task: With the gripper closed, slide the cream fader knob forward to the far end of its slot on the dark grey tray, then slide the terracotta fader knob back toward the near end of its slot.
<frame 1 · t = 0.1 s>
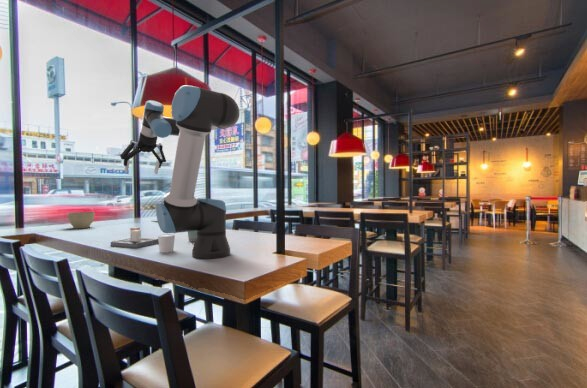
hand: (141, 172, 150), 36 cm above the table, tool tilted 35°, fingers open, 13 cm apart
dark grey tray: (135, 244, 147), on the table
fader b: (135, 232, 152), point 5 cm above the table, slide at 4.0 cm
coffee cup: (194, 241, 158), on the table
white tapered cup: (166, 251, 131), on the table
planter bowl: (81, 228, 214), on the table
fader a: (136, 235, 143), point 5 cm above the table, slide at -4.0 cm
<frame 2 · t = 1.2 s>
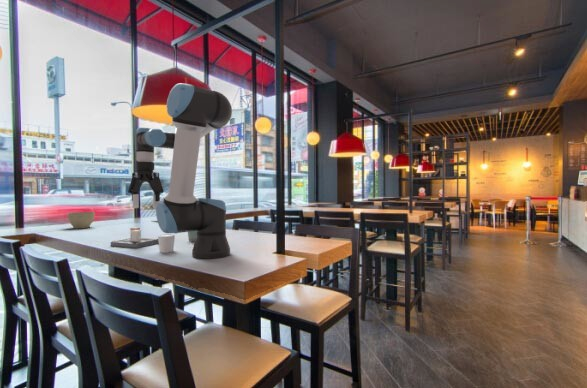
hand: (145, 208, 141), 18 cm above the table, tool pointing down, fingers open, 11 cm apart
nothing on the table moved.
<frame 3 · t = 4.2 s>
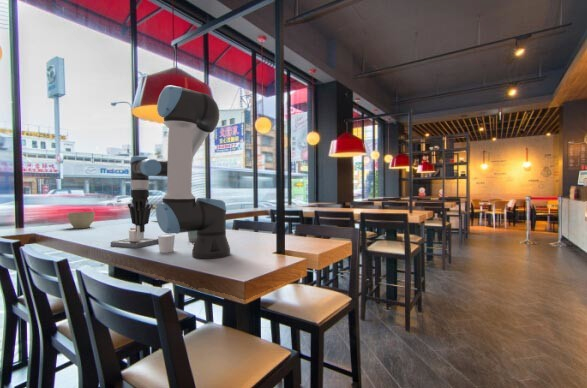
hand: (140, 239, 142), 4 cm above the table, tool pointing down, fingers closed
fader a: (134, 235, 143), point 5 cm above the table, slide at -2.8 cm, touching gripper
everything else where it was.
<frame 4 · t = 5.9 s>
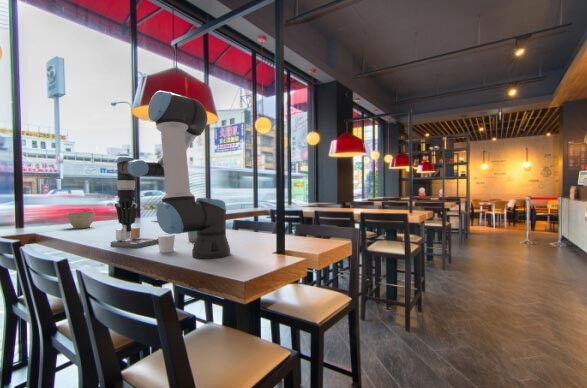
hand: (126, 238, 145), 4 cm above the table, tool pointing down, fingers closed
fader a: (120, 234, 146), point 5 cm above the table, slide at 5.5 cm, touching gripper
everything else where it was.
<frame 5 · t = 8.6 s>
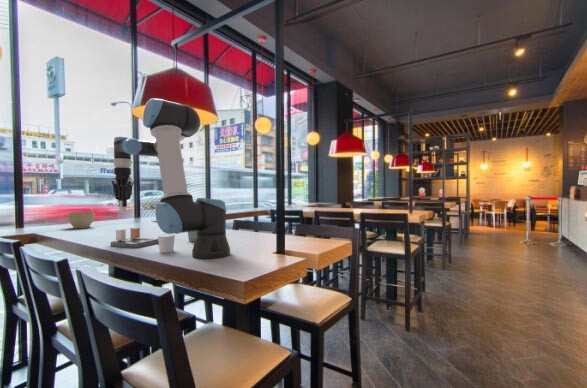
hand: (122, 213, 155), 15 cm above the table, tool pointing down, fingers closed
fader a: (120, 234, 146), point 5 cm above the table, slide at 5.5 cm
everything else where it was.
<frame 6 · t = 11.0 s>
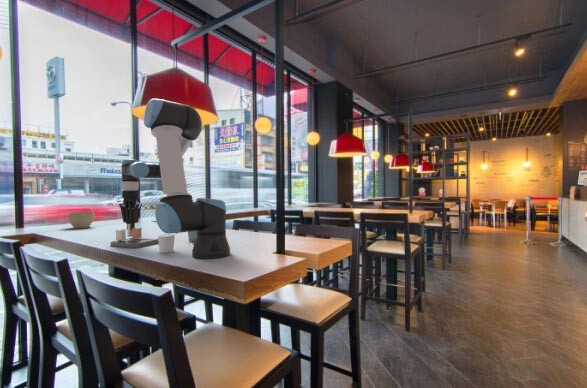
hand: (130, 236, 153), 3 cm above the table, tool pointing down, fingers closed
fader b: (136, 233, 152), point 5 cm above the table, slide at 2.9 cm, touching gripper
everything else where it was.
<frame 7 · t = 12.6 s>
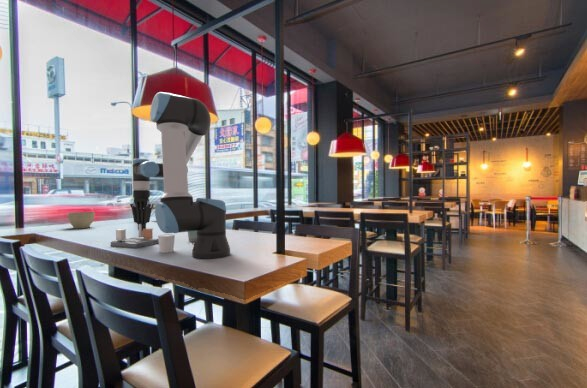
hand: (141, 236, 151), 3 cm above the table, tool pointing down, fingers closed
fader b: (147, 233, 149), point 5 cm above the table, slide at -4.2 cm, touching gripper
everything else where it was.
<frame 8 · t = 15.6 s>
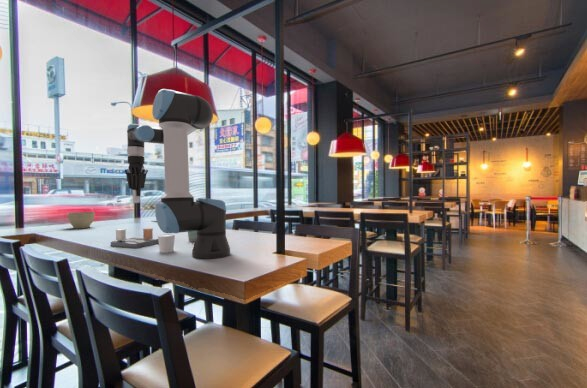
hand: (136, 202, 151), 20 cm above the table, tool pointing down, fingers closed
fader b: (148, 233, 149), point 5 cm above the table, slide at -4.3 cm
everything else where it was.
at the end: fader a slide at 5.5 cm; fader b slide at -4.3 cm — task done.
